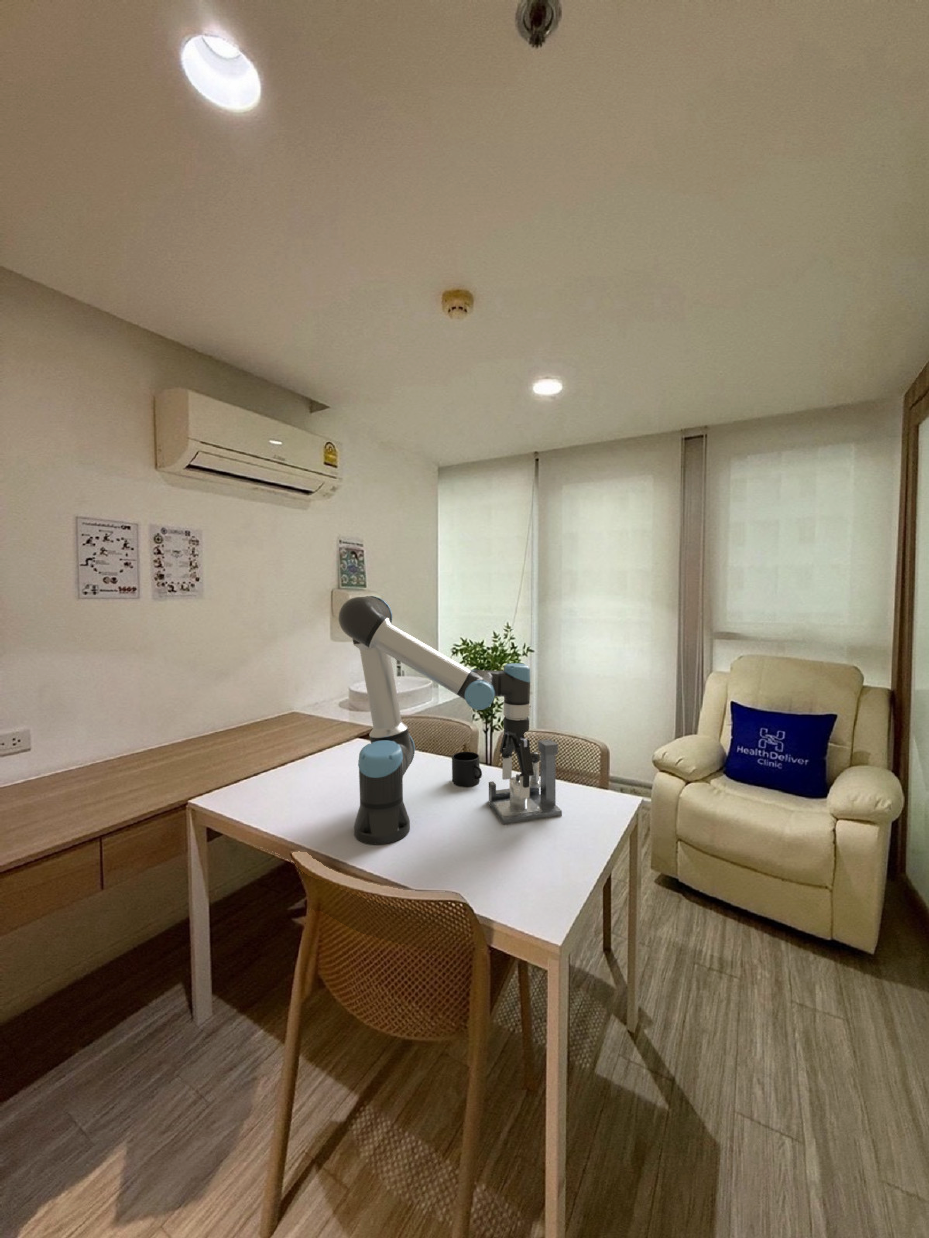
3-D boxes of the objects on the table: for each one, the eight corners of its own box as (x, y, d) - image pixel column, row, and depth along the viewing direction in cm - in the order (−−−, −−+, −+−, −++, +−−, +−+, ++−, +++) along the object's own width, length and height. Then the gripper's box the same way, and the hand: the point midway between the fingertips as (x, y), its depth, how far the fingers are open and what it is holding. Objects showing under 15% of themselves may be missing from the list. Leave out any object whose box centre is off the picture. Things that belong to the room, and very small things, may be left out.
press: (503, 824, 135) (503, 754, 133) (485, 801, 150) (485, 738, 149) (563, 815, 140) (563, 747, 139) (540, 793, 155) (539, 732, 154)
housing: (513, 811, 139) (513, 779, 138) (507, 803, 144) (507, 772, 143) (529, 808, 140) (529, 777, 140) (522, 801, 145) (522, 770, 145)
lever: (531, 788, 151) (531, 754, 150) (526, 784, 154) (526, 750, 153) (542, 787, 152) (542, 753, 151) (538, 782, 155) (537, 749, 154)
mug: (472, 792, 157) (471, 765, 156) (446, 782, 165) (446, 756, 164) (491, 783, 163) (490, 757, 163) (465, 774, 172) (465, 749, 171)
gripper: (547, 727, 130) (545, 804, 131) (512, 705, 153) (511, 770, 155) (521, 729, 128) (519, 807, 129) (490, 707, 151) (489, 773, 153)
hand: (515, 787), depth 142 cm, fingers open, 13 cm apart
